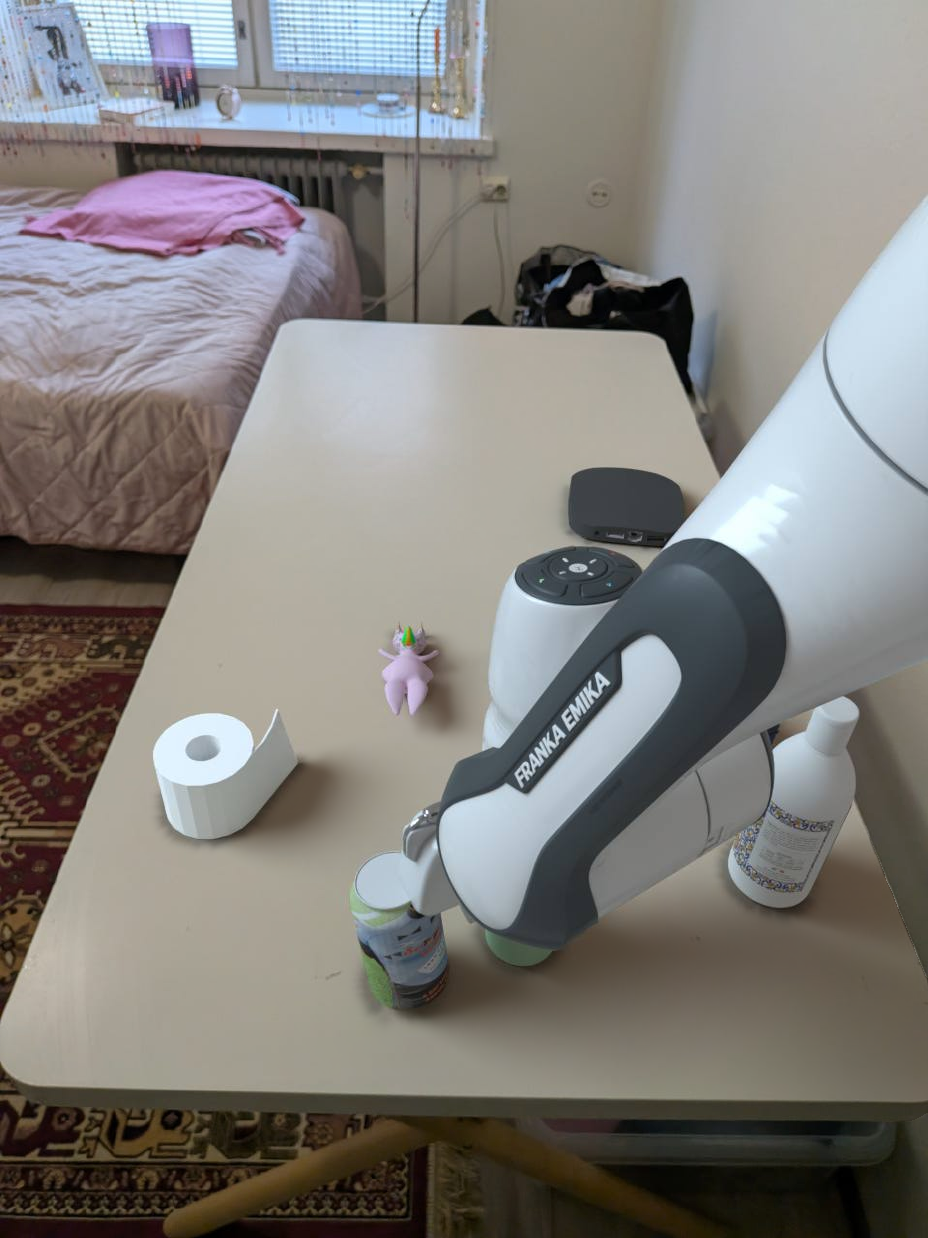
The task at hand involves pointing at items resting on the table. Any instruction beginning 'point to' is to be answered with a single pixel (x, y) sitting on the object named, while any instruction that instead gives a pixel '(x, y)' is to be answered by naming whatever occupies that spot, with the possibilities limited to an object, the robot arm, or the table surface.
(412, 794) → the table surface
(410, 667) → the pink toy figurine
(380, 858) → the beverage can
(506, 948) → the bottle
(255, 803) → the toilet paper
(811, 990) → the table surface
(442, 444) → the table surface
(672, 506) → the media streaming box
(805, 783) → the bath foam
